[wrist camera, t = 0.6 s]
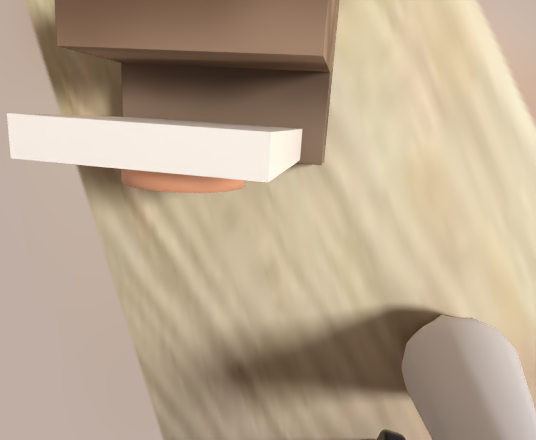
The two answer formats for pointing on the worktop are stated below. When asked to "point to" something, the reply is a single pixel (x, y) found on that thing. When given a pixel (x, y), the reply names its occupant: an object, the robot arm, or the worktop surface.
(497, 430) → the salt shaker
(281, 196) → the worktop surface
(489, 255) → the worktop surface
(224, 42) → the brown wooden stand
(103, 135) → the button plate
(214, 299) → the worktop surface
